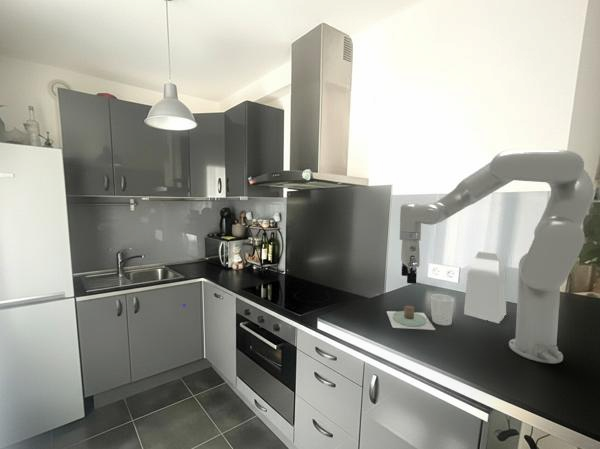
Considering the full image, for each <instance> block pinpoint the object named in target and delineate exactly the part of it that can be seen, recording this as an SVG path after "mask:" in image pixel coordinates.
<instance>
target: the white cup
mask: <svg viewBox="0 0 600 449" xmlns="http://www.w3.org/2000/svg"><path fill="white" fill-rule="evenodd" d="M454 302H455V299H454V298H453V297H452V296H450V295H446V294H440V293H435V294H432V295H430V307H431V308H430V311H431V322H433V323H434V324H436V325H438V326H439V325H440V326H451V325H452V321H453V317H454V316H453V315H454V305H455V304H454Z"/></svg>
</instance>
